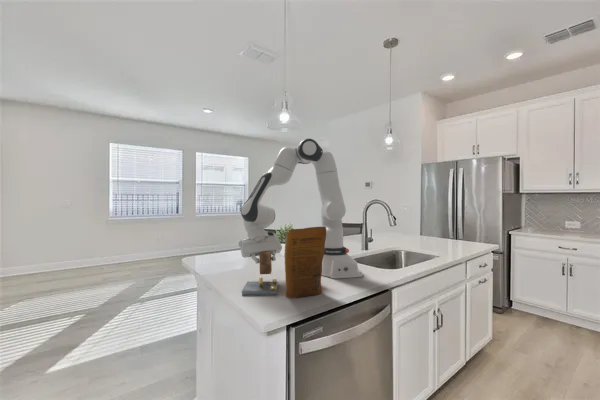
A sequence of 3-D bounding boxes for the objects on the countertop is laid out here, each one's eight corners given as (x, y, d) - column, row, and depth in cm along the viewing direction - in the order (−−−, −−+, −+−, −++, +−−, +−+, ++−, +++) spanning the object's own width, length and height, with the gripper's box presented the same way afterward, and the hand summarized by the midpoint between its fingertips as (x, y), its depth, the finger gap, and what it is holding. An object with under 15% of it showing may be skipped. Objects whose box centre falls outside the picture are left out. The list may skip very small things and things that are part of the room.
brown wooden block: (271, 271, 133) (271, 250, 132) (270, 274, 128) (270, 252, 127) (261, 271, 133) (260, 250, 132) (259, 274, 128) (259, 252, 127)
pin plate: (278, 285, 124) (278, 273, 124) (276, 295, 112) (276, 281, 112) (247, 285, 124) (247, 273, 124) (241, 295, 112) (241, 281, 112)
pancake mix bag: (330, 294, 113) (330, 226, 112) (286, 301, 106) (286, 229, 105) (322, 289, 119) (322, 225, 119) (280, 295, 112) (280, 227, 111)
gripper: (239, 236, 131) (246, 260, 122) (277, 232, 141) (287, 254, 133) (236, 244, 135) (243, 268, 126) (274, 240, 145) (283, 262, 137)
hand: (266, 261), depth 130 cm, fingers closed on brown wooden block, 7 cm apart
